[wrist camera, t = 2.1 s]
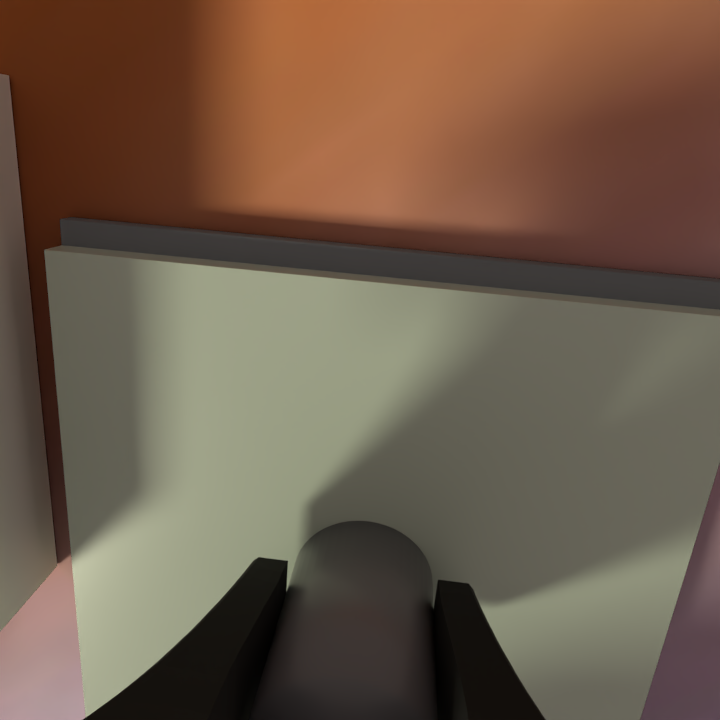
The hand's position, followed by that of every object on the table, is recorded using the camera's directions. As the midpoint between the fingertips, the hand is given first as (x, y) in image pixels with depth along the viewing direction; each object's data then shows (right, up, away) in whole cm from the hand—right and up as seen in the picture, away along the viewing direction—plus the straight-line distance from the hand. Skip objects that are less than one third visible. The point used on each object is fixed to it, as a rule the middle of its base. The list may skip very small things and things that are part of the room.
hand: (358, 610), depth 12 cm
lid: (0, 0, +1) cm, 2 cm away
